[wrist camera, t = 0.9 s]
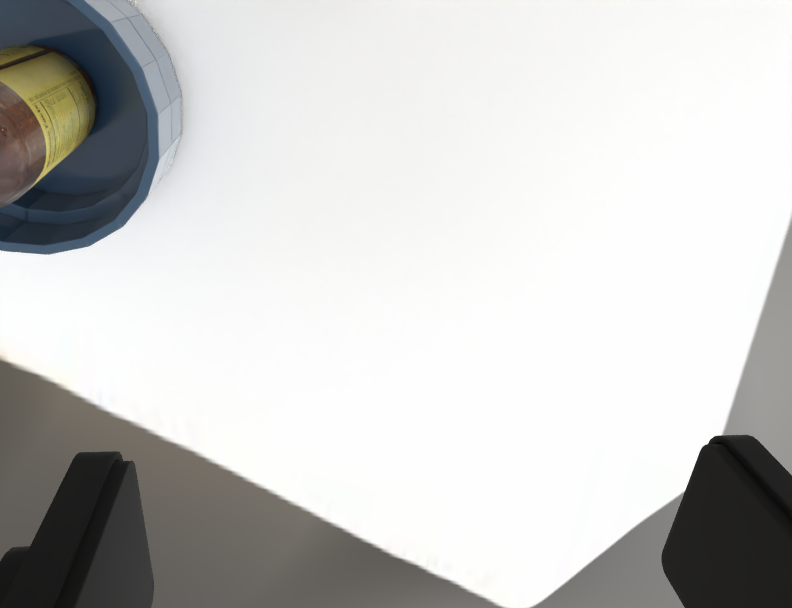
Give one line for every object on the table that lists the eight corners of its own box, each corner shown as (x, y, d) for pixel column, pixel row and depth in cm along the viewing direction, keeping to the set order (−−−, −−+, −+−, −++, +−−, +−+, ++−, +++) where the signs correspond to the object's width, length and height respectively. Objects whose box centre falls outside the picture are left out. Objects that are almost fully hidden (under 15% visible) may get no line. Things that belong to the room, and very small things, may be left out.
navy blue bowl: (-61, -100, 33) (-146, -116, 27) (216, 33, 38) (196, 46, 32) (-99, 155, 39) (-177, 190, 33) (144, 245, 44) (116, 290, 38)
